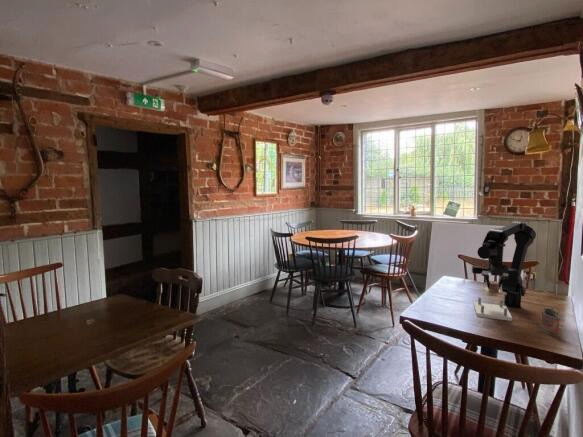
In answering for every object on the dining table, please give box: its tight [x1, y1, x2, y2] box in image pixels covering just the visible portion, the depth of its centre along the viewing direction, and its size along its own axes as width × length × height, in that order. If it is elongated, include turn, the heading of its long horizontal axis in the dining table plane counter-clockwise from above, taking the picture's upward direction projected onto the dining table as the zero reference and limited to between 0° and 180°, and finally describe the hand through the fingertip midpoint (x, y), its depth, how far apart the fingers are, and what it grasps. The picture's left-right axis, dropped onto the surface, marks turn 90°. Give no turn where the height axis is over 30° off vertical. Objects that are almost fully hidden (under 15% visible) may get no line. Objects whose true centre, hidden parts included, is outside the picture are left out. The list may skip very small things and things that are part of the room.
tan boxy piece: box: [483, 280, 504, 298], centre depth 165 cm, size 6×9×5 cm, turn 160°
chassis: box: [473, 297, 513, 322], centre depth 167 cm, size 14×16×4 cm
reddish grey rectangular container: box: [539, 306, 561, 337], centre depth 145 cm, size 8×3×10 cm, turn 5°
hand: (493, 289), depth 166 cm, fingers closed on tan boxy piece, 4 cm apart
